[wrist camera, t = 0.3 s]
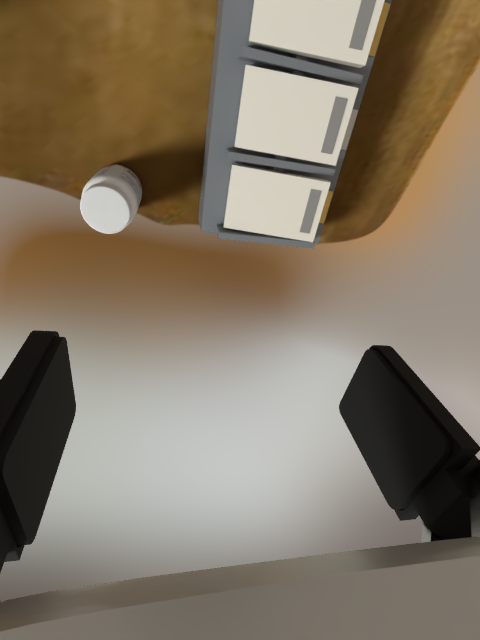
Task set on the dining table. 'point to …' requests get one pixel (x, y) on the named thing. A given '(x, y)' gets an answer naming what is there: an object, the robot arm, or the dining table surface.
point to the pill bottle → (111, 199)
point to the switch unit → (224, 115)
